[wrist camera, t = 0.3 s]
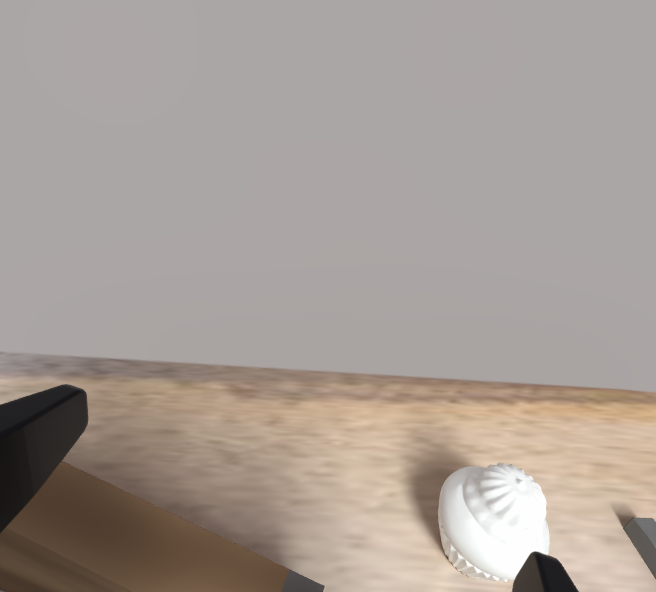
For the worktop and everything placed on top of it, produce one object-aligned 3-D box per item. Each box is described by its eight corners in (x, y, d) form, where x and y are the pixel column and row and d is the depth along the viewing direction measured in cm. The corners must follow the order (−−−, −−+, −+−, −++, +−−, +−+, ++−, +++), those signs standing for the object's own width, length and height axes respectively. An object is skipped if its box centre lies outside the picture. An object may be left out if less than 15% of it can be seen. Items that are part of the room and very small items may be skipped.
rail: (266, 728, 19) (297, 674, 15) (-58, 558, 21) (-91, 479, 17) (293, 647, 21) (324, 586, 18) (1, 502, 23) (-18, 423, 20)
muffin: (473, 492, 31) (523, 423, 27) (539, 586, 27) (609, 520, 23) (398, 515, 28) (442, 442, 24) (458, 625, 24) (522, 558, 20)
